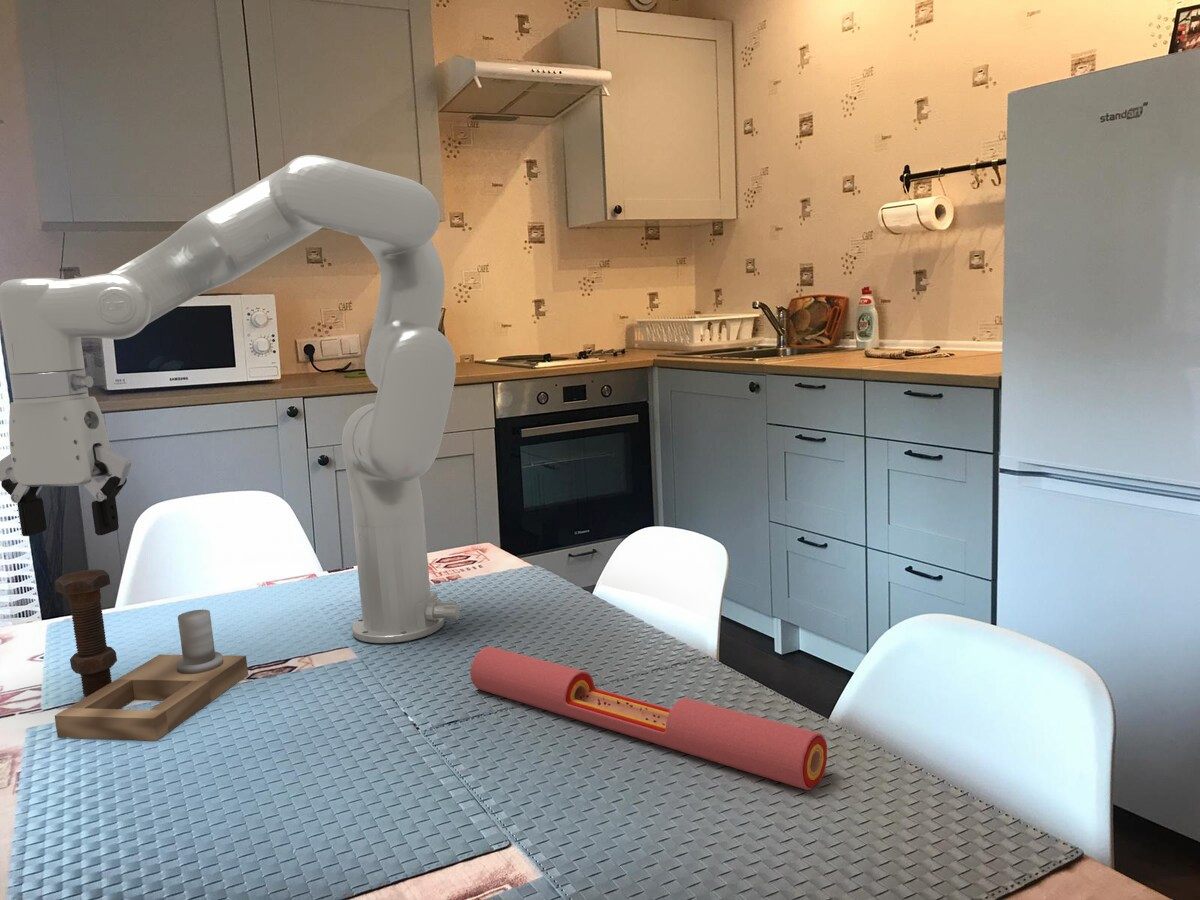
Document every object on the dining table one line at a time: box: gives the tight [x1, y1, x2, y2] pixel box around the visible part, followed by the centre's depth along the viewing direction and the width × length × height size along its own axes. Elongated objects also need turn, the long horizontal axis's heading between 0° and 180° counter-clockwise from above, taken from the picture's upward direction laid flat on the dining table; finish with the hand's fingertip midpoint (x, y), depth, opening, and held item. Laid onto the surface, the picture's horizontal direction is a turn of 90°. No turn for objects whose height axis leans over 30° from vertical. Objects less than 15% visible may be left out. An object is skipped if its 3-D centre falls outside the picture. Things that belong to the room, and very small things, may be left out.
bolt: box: [54, 569, 118, 698], centre depth 112 cm, size 6×5×15 cm
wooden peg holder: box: [54, 609, 249, 742], centre depth 109 cm, size 12×18×9 cm, turn 170°
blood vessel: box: [470, 646, 828, 791], centre depth 96 cm, size 42×5×5 cm, turn 51°
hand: (70, 533), depth 110 cm, fingers open, 9 cm apart
